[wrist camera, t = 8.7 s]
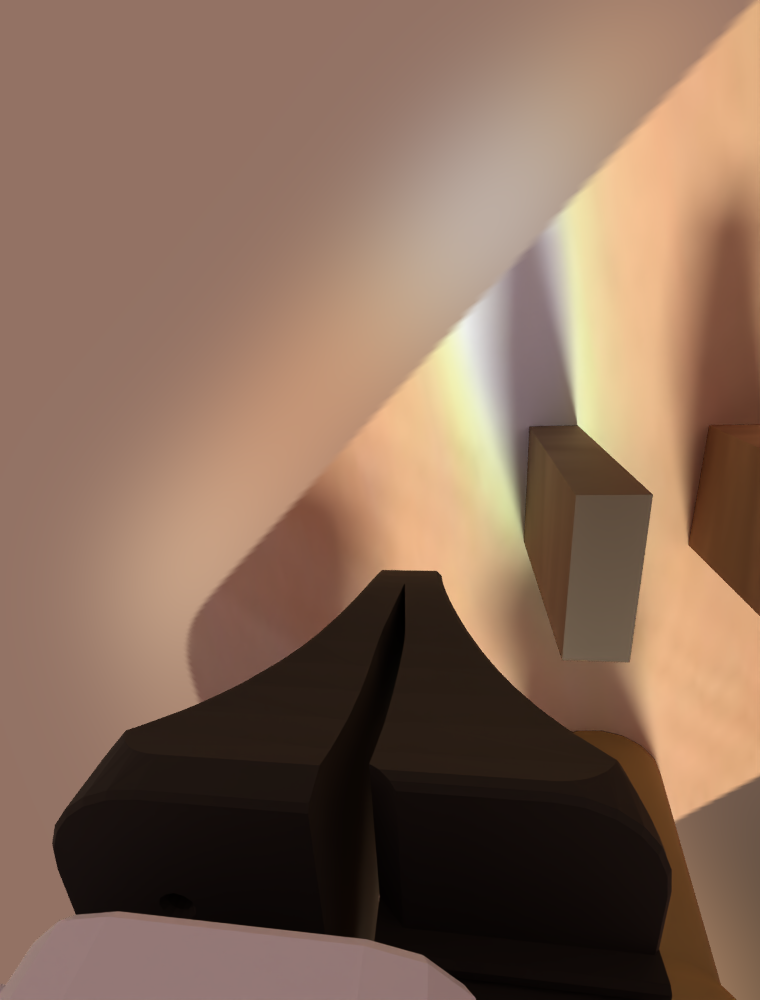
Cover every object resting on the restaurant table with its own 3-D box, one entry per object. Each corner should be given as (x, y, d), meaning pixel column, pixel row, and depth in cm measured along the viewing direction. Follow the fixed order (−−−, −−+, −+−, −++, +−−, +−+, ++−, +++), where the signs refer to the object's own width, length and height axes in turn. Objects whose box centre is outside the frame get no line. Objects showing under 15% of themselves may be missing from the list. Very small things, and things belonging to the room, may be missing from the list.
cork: (494, 760, 23) (531, 1116, 13) (622, 710, 21) (779, 1076, 11) (560, 846, 25) (639, 1230, 14) (685, 805, 23) (877, 1211, 13)
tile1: (524, 541, 19) (562, 659, 13) (529, 426, 18) (576, 495, 11) (567, 541, 19) (629, 662, 13) (577, 425, 18) (653, 494, 11)
